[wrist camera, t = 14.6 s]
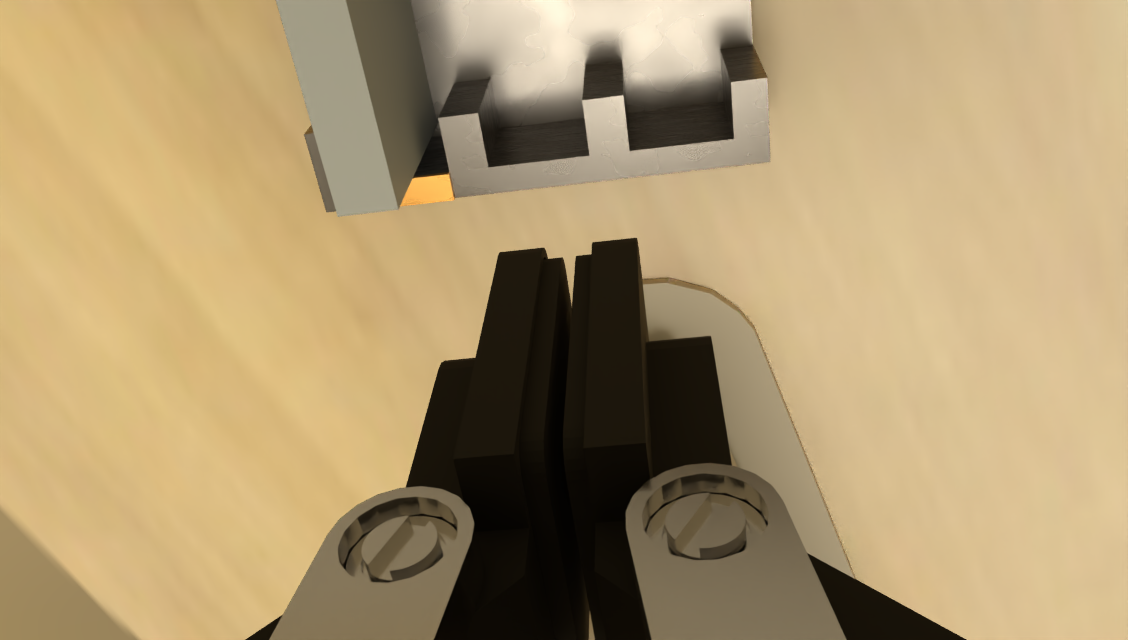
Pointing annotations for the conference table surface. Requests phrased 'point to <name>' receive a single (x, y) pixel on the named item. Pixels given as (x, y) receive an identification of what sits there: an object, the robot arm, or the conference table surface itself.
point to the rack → (582, 93)
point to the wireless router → (748, 406)
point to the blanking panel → (362, 95)
